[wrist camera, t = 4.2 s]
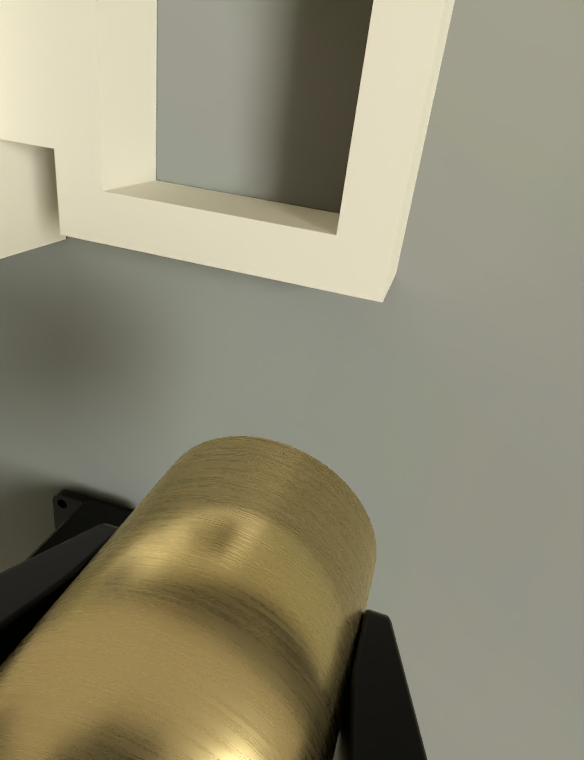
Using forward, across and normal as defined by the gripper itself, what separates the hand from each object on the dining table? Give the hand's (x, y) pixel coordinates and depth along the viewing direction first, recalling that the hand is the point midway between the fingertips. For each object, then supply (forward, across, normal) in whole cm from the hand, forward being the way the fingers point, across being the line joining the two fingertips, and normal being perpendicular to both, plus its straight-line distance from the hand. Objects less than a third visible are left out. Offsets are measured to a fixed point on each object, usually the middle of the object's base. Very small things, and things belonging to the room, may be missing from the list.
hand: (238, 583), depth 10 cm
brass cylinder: (+1, 0, 0) cm, 1 cm away
